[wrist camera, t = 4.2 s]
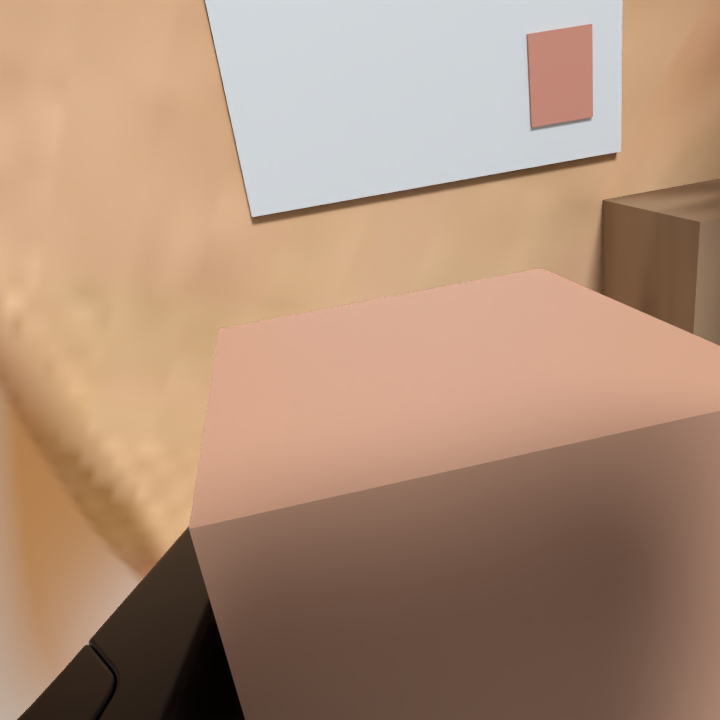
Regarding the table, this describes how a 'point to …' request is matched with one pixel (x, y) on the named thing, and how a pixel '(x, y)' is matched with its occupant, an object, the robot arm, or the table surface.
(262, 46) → the envelope
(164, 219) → the table surface
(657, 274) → the walnut block
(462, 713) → the block
